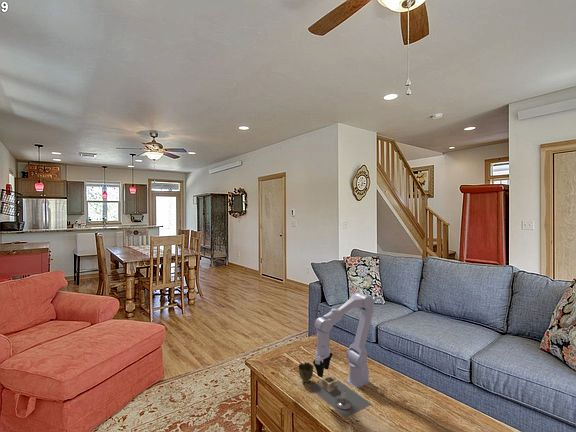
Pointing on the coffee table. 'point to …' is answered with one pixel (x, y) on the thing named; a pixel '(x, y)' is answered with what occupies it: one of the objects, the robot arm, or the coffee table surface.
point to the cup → (306, 372)
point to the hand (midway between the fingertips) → (323, 372)
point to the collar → (329, 384)
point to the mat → (331, 398)
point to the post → (343, 402)
